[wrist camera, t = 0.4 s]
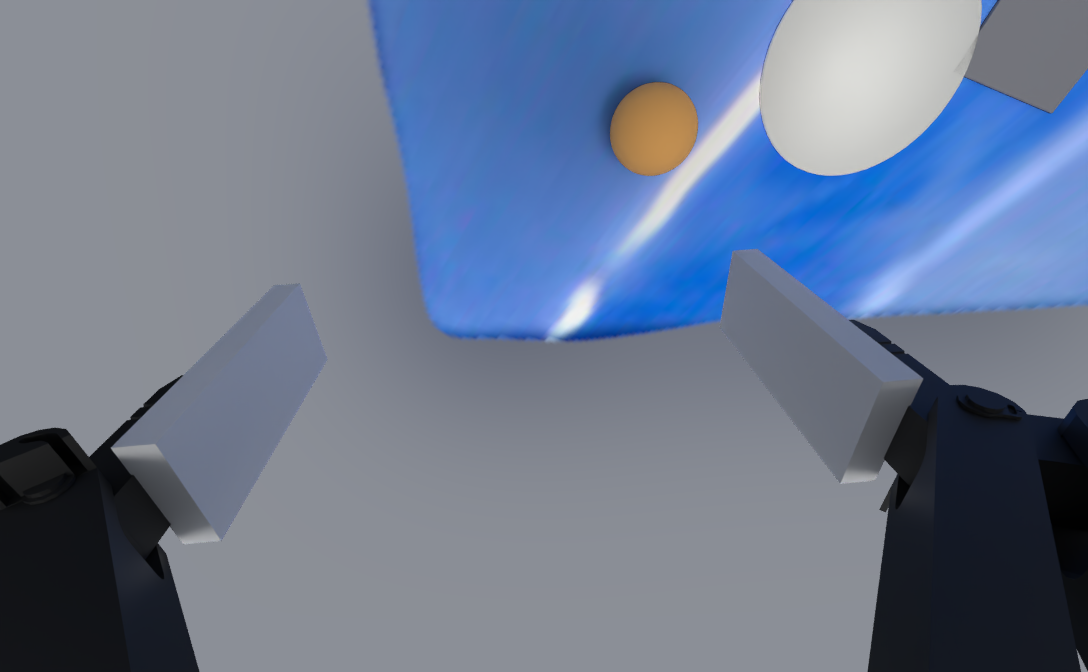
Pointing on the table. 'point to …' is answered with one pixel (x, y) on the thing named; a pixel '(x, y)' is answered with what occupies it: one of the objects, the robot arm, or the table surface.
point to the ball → (653, 128)
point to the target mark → (862, 77)
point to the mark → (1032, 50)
